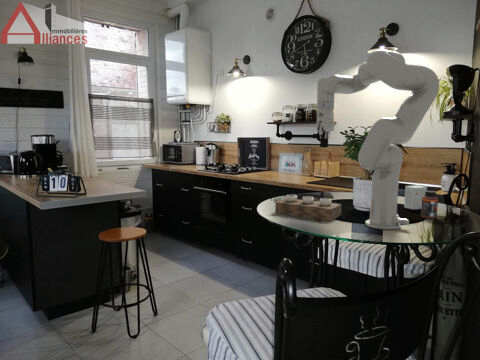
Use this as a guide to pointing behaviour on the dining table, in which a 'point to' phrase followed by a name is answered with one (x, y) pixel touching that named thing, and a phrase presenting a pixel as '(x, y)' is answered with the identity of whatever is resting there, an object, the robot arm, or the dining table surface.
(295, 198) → the knob far
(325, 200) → the knob near
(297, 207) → the knob mount
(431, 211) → the supplement bottle
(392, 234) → the dining table surface
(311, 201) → the knob middle
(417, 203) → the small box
